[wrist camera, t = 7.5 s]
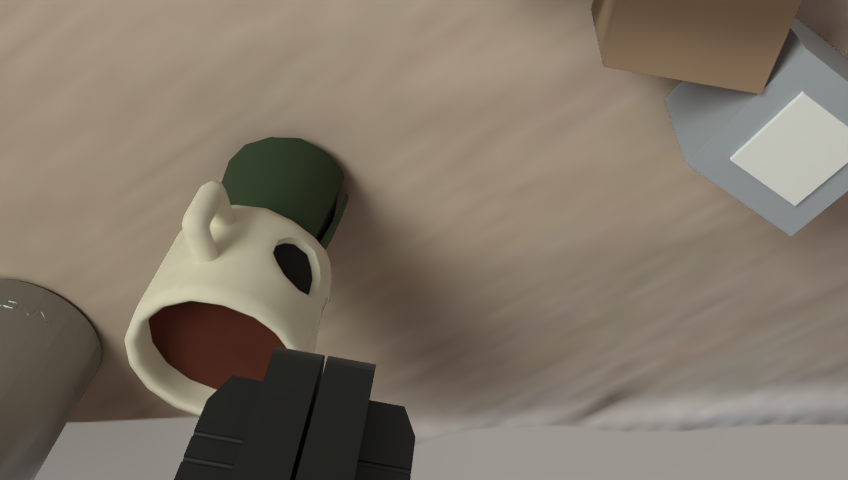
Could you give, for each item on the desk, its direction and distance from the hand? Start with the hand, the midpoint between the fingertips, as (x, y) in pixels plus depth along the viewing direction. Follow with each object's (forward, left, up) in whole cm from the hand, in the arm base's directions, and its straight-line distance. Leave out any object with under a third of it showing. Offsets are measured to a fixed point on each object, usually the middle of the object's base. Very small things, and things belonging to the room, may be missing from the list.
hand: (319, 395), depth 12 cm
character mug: (-15, +3, -26) cm, 30 cm away
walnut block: (+2, -10, -26) cm, 28 cm away
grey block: (-2, -16, -26) cm, 31 cm away
